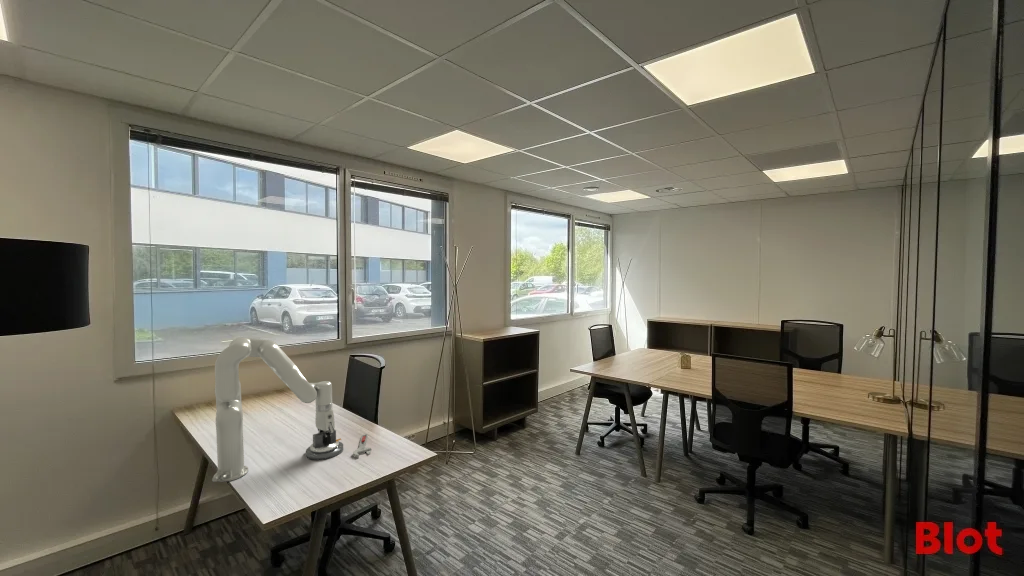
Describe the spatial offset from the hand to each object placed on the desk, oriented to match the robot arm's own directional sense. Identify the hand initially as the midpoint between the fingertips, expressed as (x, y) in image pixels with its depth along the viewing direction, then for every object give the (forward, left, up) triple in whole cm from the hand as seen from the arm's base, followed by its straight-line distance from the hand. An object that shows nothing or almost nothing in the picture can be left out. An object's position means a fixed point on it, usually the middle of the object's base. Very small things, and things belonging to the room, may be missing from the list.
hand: (325, 442), depth 197 cm
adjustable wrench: (+4, -17, -5) cm, 19 cm away
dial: (0, 0, -2) cm, 2 cm away
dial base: (0, 0, -5) cm, 5 cm away
